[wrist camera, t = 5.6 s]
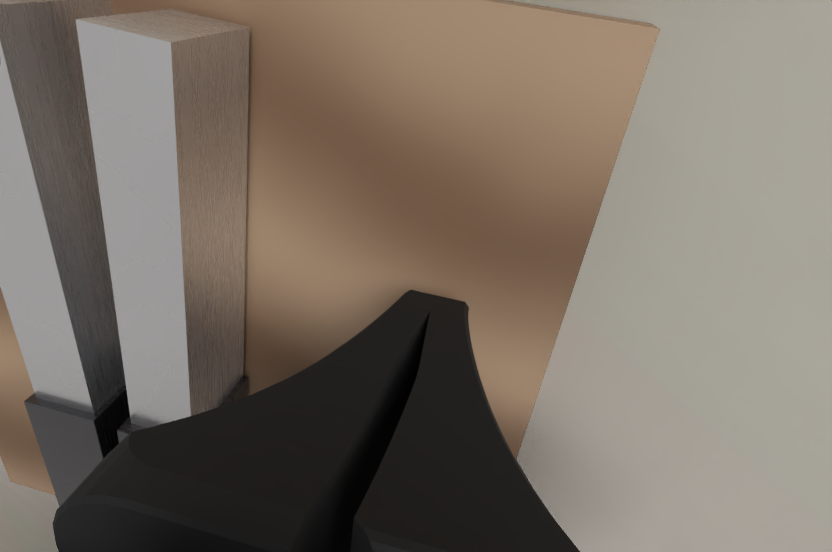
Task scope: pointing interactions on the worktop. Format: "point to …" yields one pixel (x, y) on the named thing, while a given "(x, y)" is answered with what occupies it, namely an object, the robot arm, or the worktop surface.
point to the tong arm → (172, 202)
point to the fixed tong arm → (57, 240)
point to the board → (408, 180)
